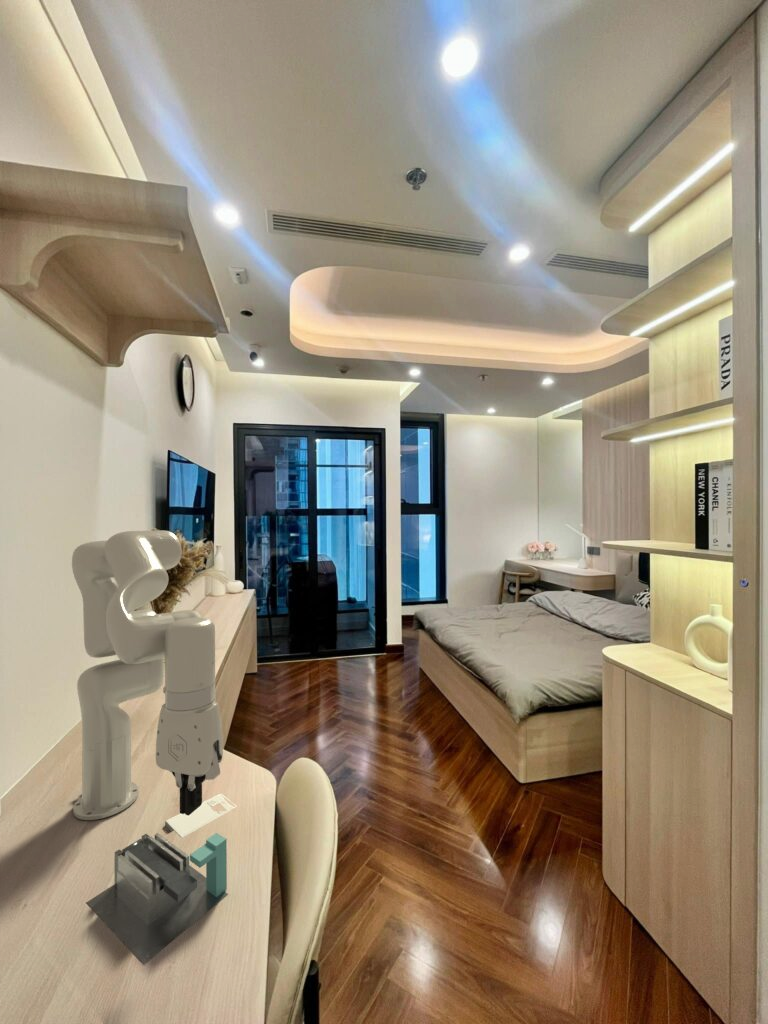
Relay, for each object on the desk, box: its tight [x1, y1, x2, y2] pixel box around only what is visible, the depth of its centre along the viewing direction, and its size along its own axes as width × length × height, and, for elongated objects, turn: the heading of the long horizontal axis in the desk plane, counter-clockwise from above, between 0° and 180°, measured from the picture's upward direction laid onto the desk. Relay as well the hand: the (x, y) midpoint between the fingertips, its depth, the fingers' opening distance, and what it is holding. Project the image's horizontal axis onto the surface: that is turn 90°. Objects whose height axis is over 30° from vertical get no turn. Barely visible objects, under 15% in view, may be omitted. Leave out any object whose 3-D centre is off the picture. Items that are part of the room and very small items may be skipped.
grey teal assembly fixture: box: [85, 832, 229, 965], centre depth 73 cm, size 18×14×7 cm
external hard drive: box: [164, 793, 238, 839], centre depth 94 cm, size 2×8×12 cm
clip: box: [189, 832, 228, 897], centre depth 73 cm, size 3×5×8 cm, turn 146°
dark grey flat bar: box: [121, 838, 197, 902], centre depth 73 cm, size 18×3×1 cm, turn 56°
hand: (191, 809), depth 71 cm, fingers closed
